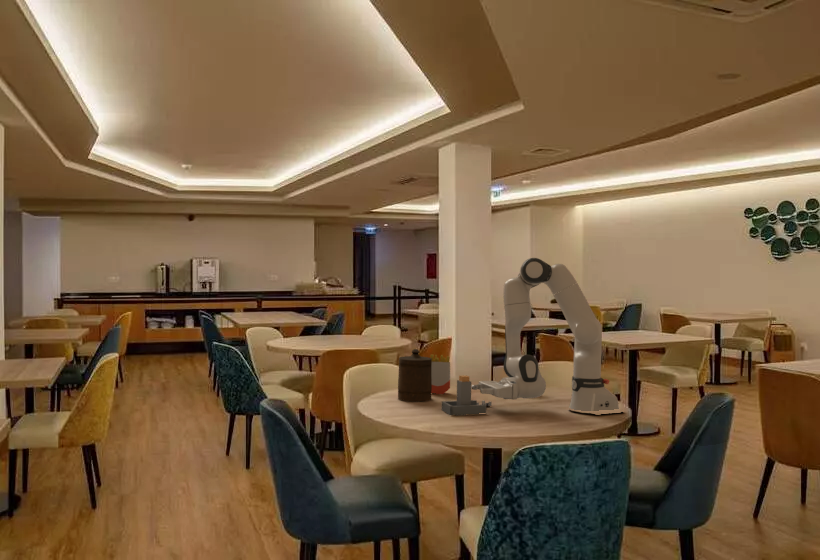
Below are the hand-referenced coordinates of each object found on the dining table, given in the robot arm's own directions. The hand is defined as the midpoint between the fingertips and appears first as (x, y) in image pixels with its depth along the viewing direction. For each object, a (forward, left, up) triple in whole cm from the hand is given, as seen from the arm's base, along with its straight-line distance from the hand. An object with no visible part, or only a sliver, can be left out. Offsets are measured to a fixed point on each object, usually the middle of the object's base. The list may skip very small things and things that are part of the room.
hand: (476, 389), depth 279 cm
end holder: (+5, 0, -9) cm, 11 cm away
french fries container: (+1, -44, -9) cm, 45 cm away
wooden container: (+16, -32, -9) cm, 37 cm away
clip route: (-7, -8, -9) cm, 14 cm away
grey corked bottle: (+5, 0, -8) cm, 10 cm away
